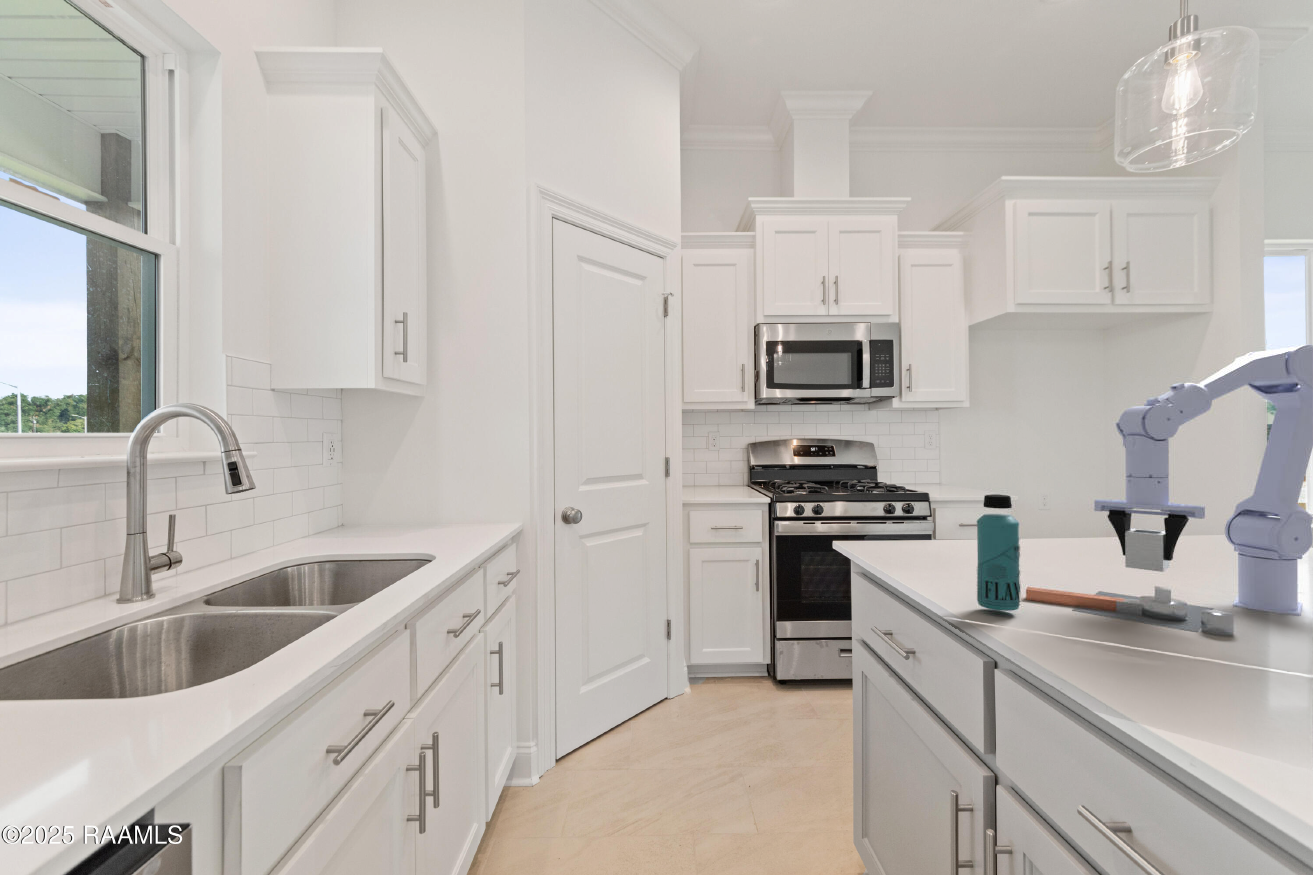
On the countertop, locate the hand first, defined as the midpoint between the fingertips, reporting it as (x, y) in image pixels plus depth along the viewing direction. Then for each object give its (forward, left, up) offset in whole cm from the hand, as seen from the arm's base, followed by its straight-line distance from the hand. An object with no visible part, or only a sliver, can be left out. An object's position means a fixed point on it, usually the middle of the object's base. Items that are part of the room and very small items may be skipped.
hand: (1147, 557), depth 105 cm
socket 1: (0, 0, -2) cm, 2 cm away
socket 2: (+8, +10, -9) cm, 16 cm away
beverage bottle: (+20, -16, -9) cm, 28 cm away
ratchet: (+5, -5, -9) cm, 11 cm away
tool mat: (+1, 0, -9) cm, 9 cm away
